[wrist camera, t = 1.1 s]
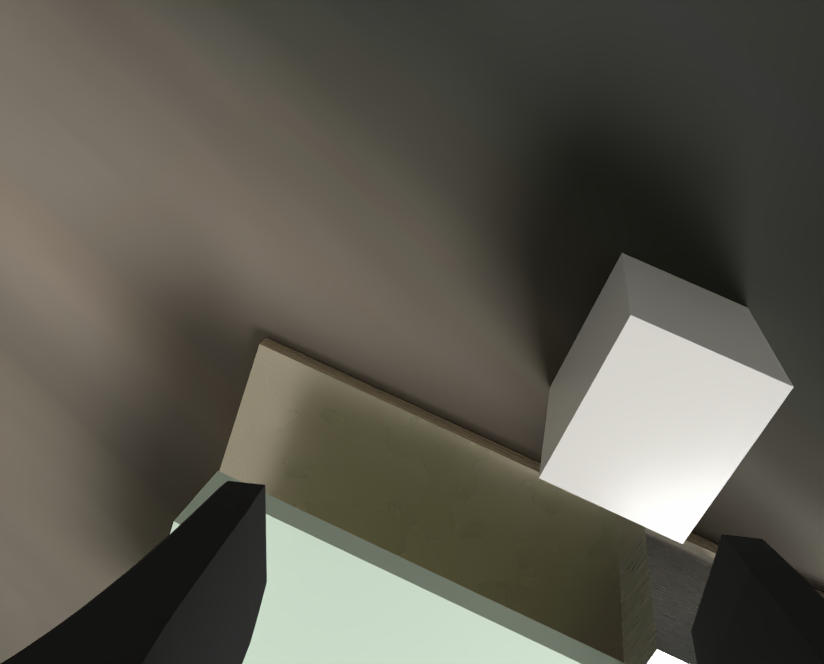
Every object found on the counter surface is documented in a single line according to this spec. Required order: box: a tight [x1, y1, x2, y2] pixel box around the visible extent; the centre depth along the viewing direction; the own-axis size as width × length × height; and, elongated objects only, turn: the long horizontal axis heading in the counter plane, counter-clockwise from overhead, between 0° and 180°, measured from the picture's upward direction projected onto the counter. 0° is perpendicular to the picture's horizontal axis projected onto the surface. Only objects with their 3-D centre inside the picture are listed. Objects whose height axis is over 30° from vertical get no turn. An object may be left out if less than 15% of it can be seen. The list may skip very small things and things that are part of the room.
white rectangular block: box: [539, 253, 793, 544], centre depth 20 cm, size 4×5×6 cm
